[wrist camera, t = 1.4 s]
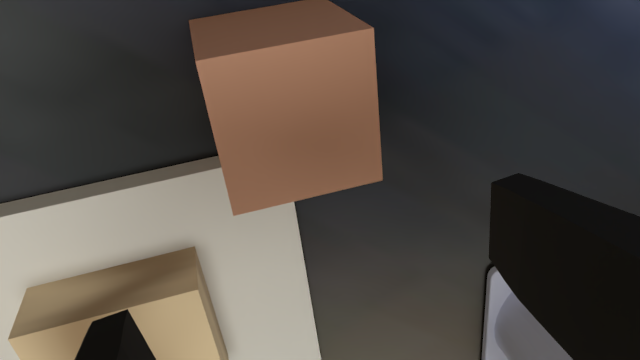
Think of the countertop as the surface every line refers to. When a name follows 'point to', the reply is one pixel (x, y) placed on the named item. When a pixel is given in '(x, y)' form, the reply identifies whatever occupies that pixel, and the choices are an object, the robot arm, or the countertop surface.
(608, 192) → the countertop surface
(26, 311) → the bottom brick
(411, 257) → the countertop surface
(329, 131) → the top brick
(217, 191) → the build plate
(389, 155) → the countertop surface
